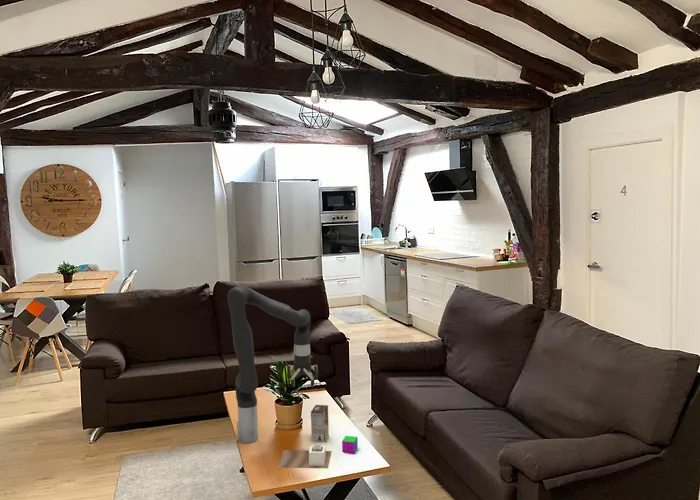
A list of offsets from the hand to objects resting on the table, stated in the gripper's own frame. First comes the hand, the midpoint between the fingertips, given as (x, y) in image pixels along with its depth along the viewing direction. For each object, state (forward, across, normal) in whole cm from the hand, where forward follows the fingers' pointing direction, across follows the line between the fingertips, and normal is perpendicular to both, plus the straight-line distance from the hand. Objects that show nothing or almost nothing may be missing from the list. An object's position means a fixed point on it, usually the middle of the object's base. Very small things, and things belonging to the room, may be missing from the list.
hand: (302, 387), depth 257 cm
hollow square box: (+27, +9, -20) cm, 34 cm away
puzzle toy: (+28, +22, -5) cm, 36 cm away
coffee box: (+28, +7, +5) cm, 30 cm away
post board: (+28, +3, -17) cm, 33 cm away
